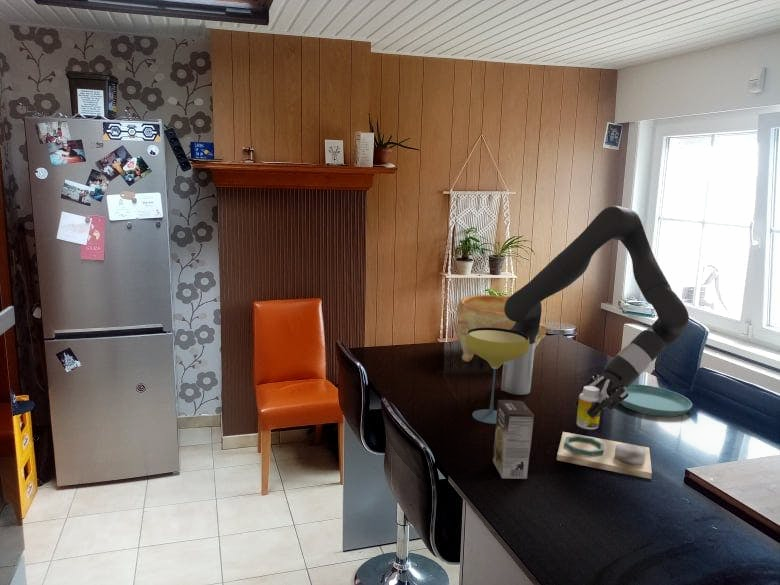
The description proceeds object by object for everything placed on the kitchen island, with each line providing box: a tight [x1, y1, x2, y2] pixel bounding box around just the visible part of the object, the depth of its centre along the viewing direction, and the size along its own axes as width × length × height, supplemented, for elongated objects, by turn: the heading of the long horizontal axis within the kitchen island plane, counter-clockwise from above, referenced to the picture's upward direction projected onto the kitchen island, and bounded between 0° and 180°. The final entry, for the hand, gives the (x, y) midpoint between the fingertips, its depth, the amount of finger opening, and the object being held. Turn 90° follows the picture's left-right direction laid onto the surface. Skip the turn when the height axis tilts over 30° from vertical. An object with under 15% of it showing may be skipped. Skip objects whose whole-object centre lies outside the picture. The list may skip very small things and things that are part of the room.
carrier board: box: [556, 431, 653, 480], centre depth 157 cm, size 22×16×4 cm
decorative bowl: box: [453, 294, 547, 363], centre depth 241 cm, size 34×35×23 cm
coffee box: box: [492, 399, 535, 480], centre depth 145 cm, size 9×6×16 cm
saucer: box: [619, 383, 693, 417], centre depth 198 cm, size 24×24×3 cm
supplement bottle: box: [576, 385, 601, 430], centre depth 157 cm, size 6×6×10 cm
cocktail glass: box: [466, 328, 529, 425], centre depth 178 cm, size 18×18×25 cm
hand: (582, 410), depth 156 cm, fingers closed on supplement bottle, 5 cm apart
